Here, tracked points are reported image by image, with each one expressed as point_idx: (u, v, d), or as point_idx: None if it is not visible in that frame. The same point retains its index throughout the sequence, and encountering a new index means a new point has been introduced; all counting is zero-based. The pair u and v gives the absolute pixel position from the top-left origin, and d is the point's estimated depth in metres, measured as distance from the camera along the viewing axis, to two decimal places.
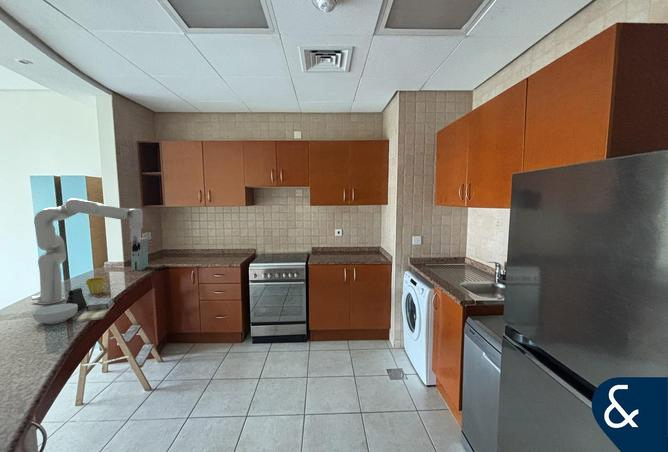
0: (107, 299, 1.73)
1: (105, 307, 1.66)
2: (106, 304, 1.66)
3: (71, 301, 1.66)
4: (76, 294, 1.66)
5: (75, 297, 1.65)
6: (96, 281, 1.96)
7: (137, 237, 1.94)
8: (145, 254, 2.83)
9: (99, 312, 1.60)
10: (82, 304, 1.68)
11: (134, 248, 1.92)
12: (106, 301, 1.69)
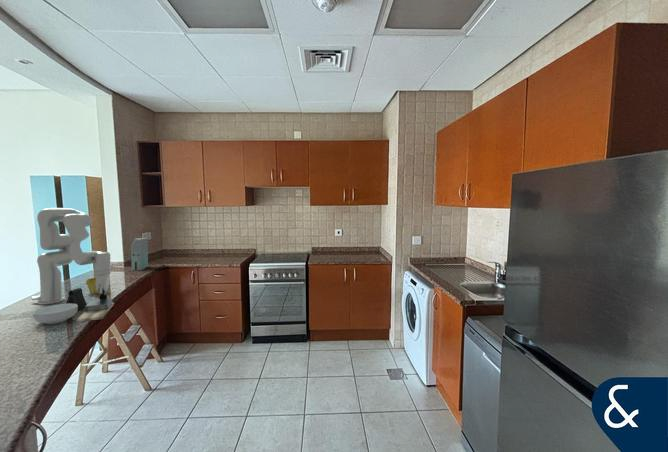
0: (106, 300, 1.71)
1: (104, 308, 1.64)
2: (105, 305, 1.65)
3: (71, 301, 1.66)
4: (76, 294, 1.66)
5: (75, 297, 1.65)
6: None
7: (103, 285, 1.71)
8: (145, 254, 2.83)
9: (99, 312, 1.60)
10: (82, 304, 1.68)
11: (102, 298, 1.73)
12: (105, 302, 1.68)
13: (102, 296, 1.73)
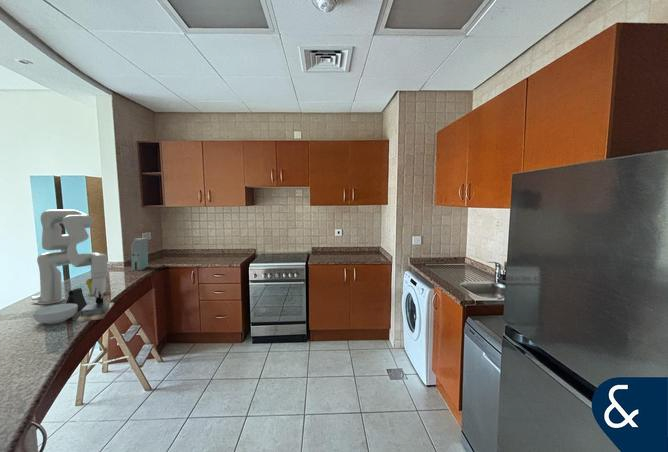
0: (103, 304, 1.65)
1: (101, 312, 1.58)
2: (102, 309, 1.58)
3: (71, 301, 1.66)
4: (76, 294, 1.66)
5: (75, 297, 1.65)
6: None
7: (100, 288, 1.64)
8: (145, 254, 2.83)
9: None
10: (82, 304, 1.68)
11: (98, 302, 1.67)
12: (102, 306, 1.61)
13: (98, 300, 1.67)
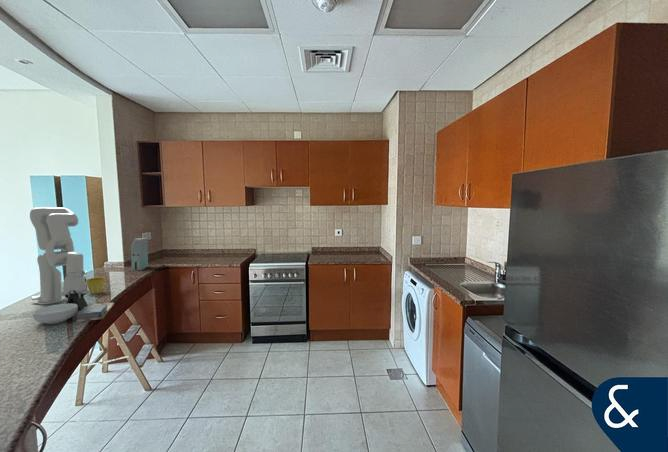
0: (100, 306, 1.60)
1: (98, 315, 1.53)
2: (99, 312, 1.53)
3: None
4: (77, 294, 1.67)
5: (76, 297, 1.65)
6: (96, 281, 1.96)
7: None
8: (145, 254, 2.83)
9: None
10: (83, 304, 1.68)
11: None
12: (99, 309, 1.56)
13: None
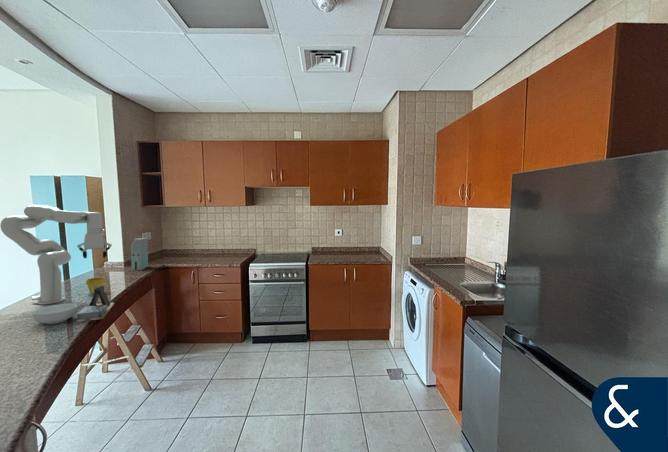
0: (100, 306, 1.60)
1: (98, 315, 1.53)
2: (99, 312, 1.53)
3: (95, 299, 1.68)
4: (101, 292, 1.68)
5: (101, 294, 1.67)
6: (96, 281, 1.96)
7: (84, 243, 1.77)
8: (145, 254, 2.83)
9: None
10: (107, 301, 1.71)
11: None
12: (99, 309, 1.56)
13: None
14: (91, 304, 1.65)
